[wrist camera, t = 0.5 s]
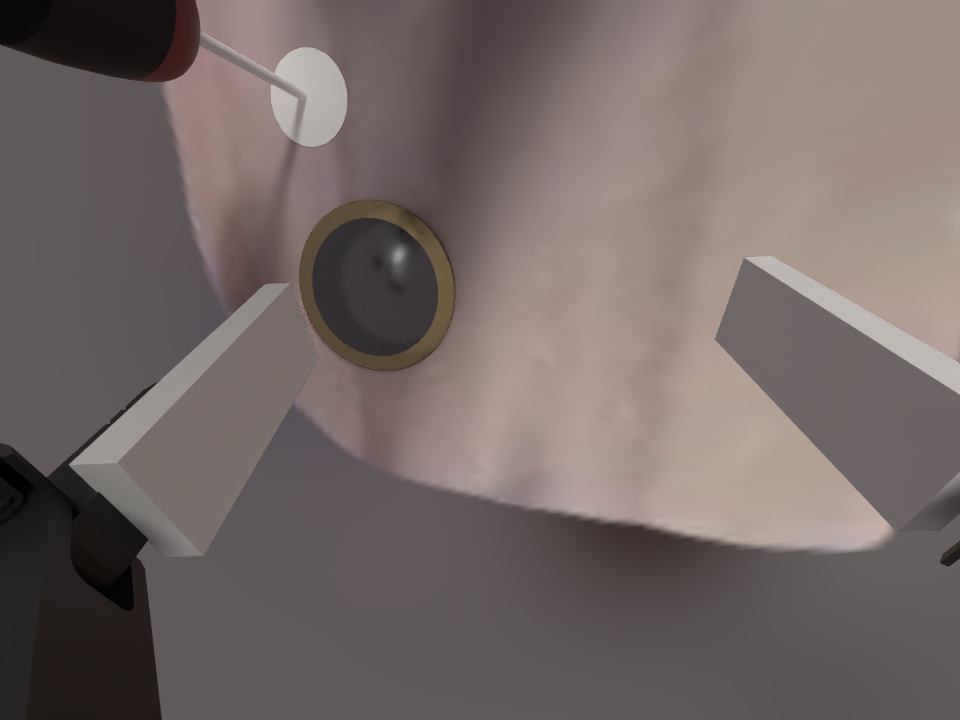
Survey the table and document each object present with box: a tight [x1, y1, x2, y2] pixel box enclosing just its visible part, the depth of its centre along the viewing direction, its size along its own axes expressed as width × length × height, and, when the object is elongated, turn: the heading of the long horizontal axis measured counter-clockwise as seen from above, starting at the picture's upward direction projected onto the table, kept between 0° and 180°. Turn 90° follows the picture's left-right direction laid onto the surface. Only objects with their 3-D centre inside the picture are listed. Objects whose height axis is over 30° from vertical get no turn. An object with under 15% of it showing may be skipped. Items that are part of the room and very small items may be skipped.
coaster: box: [299, 200, 455, 370], centre depth 36 cm, size 16×16×1 cm
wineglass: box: [0, 0, 347, 147], centre depth 24 cm, size 8×9×20 cm
